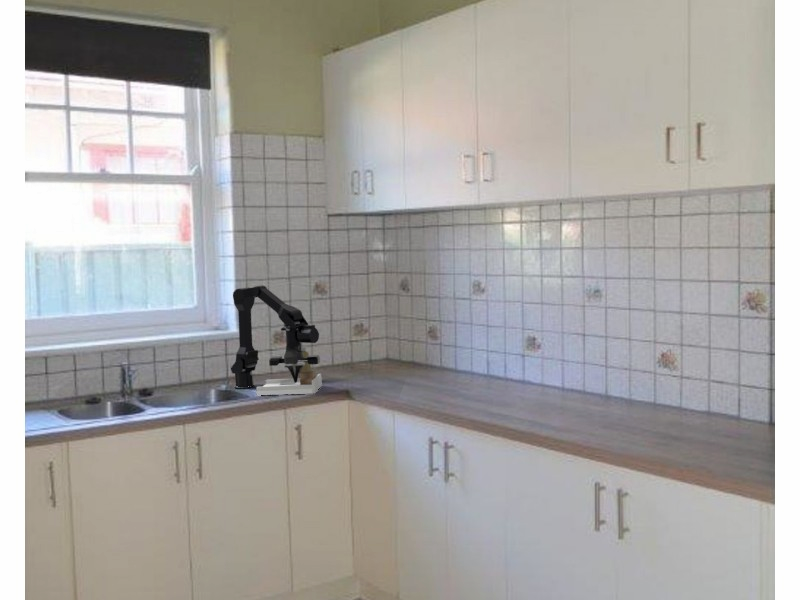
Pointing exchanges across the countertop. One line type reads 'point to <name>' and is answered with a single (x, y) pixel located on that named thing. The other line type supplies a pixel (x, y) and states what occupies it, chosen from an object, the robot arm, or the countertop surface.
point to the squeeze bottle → (306, 366)
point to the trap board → (289, 386)
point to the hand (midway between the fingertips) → (295, 382)
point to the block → (307, 377)
